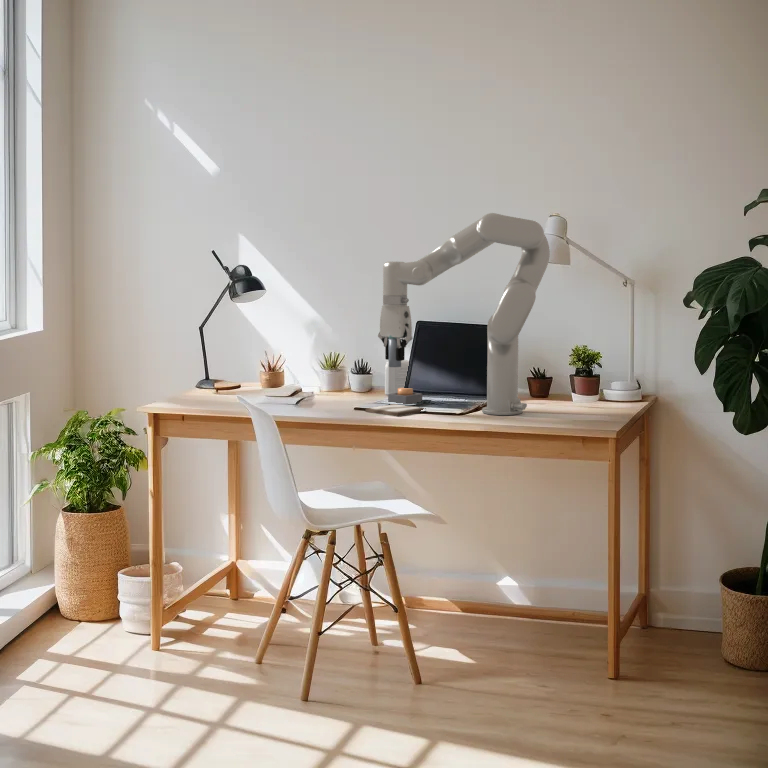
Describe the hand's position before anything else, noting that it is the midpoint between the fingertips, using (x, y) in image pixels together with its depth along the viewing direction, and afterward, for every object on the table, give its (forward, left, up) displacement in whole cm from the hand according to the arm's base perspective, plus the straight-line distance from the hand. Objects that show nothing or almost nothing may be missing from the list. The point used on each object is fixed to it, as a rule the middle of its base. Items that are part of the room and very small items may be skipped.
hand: (394, 359), depth 312 cm
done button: (+8, -13, -14) cm, 21 cm away
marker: (0, 0, -2) cm, 2 cm away
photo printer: (+26, -29, -17) cm, 42 cm away
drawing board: (0, 0, -17) cm, 17 cm away
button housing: (+8, -13, -17) cm, 23 cm away
